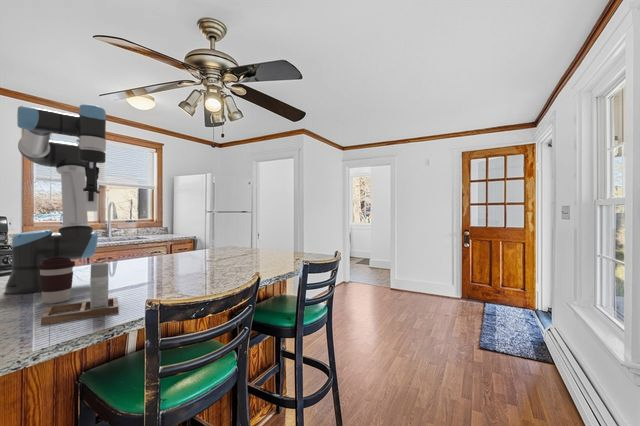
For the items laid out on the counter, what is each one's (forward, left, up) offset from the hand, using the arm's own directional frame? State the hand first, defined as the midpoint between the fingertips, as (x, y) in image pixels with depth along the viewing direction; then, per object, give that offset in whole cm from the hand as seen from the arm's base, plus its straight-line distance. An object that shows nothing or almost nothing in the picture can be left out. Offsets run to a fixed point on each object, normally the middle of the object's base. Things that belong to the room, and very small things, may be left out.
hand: (91, 211), depth 105 cm
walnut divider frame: (+13, -1, -32) cm, 34 cm away
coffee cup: (-7, -10, -32) cm, 34 cm away
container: (+13, +3, -32) cm, 35 cm away
